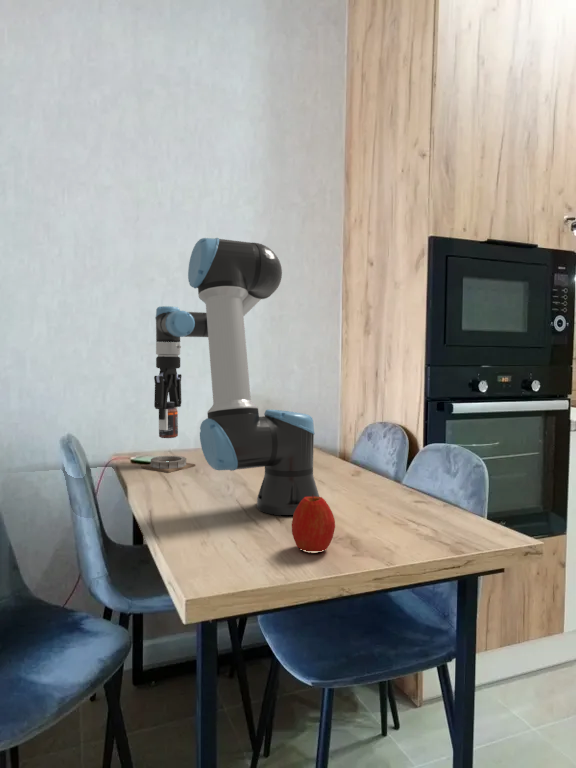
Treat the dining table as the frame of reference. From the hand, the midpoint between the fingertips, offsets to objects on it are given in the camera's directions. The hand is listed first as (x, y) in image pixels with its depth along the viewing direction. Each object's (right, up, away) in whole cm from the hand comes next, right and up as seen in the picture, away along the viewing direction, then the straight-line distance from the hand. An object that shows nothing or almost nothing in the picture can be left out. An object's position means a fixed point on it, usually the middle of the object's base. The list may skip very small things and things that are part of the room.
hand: (168, 428), depth 173 cm
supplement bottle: (0, -3, 0) cm, 3 cm away
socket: (0, -12, +1) cm, 12 cm away
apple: (+43, -17, -71) cm, 85 cm away
